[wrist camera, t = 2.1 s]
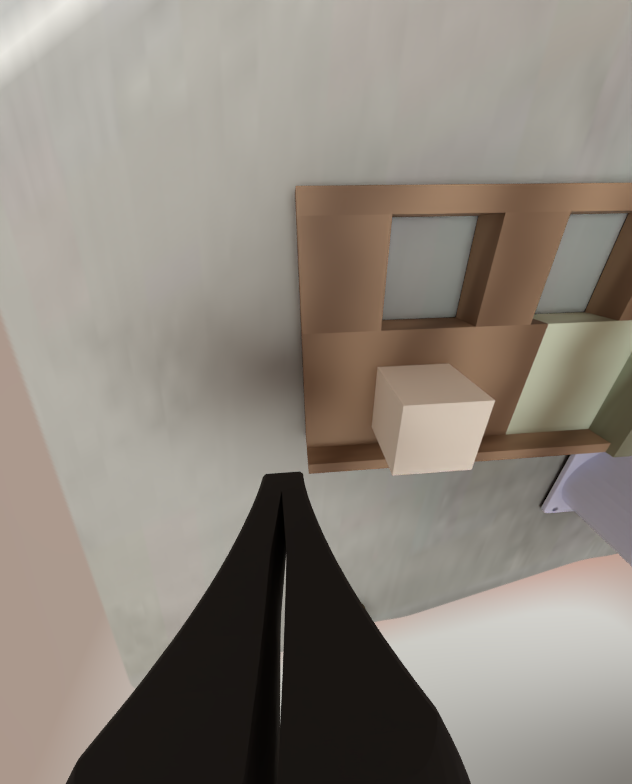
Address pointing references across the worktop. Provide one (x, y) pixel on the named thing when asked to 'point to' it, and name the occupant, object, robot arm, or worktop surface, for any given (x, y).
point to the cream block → (428, 418)
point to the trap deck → (465, 319)
